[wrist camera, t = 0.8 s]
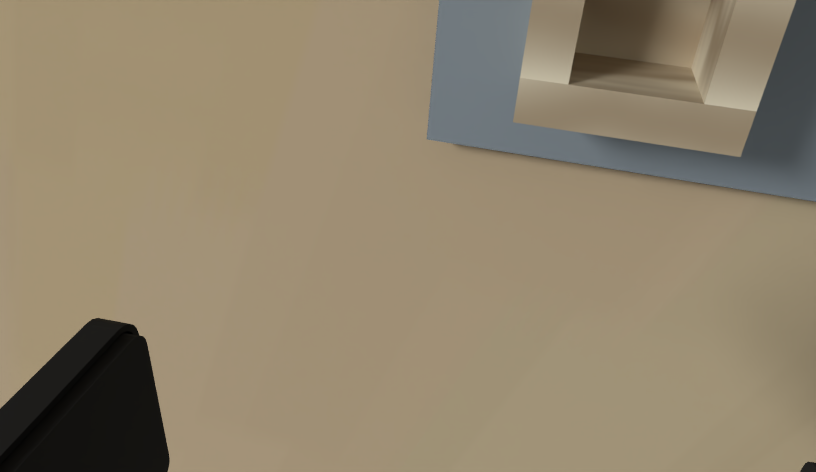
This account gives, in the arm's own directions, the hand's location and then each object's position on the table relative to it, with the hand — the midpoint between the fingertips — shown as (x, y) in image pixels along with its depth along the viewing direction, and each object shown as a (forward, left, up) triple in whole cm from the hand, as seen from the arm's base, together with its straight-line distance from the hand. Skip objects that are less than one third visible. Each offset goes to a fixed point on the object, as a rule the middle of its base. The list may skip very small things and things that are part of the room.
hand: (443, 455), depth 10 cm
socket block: (-2, +4, -23) cm, 23 cm away
